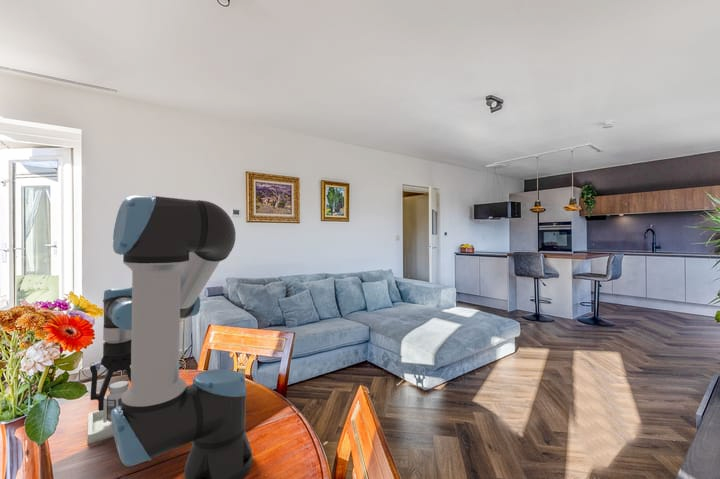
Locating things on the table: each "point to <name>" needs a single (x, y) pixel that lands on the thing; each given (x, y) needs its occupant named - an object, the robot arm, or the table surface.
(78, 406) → the table surface
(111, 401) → the pill bottle
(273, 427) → the table surface
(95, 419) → the tray
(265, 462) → the table surface
